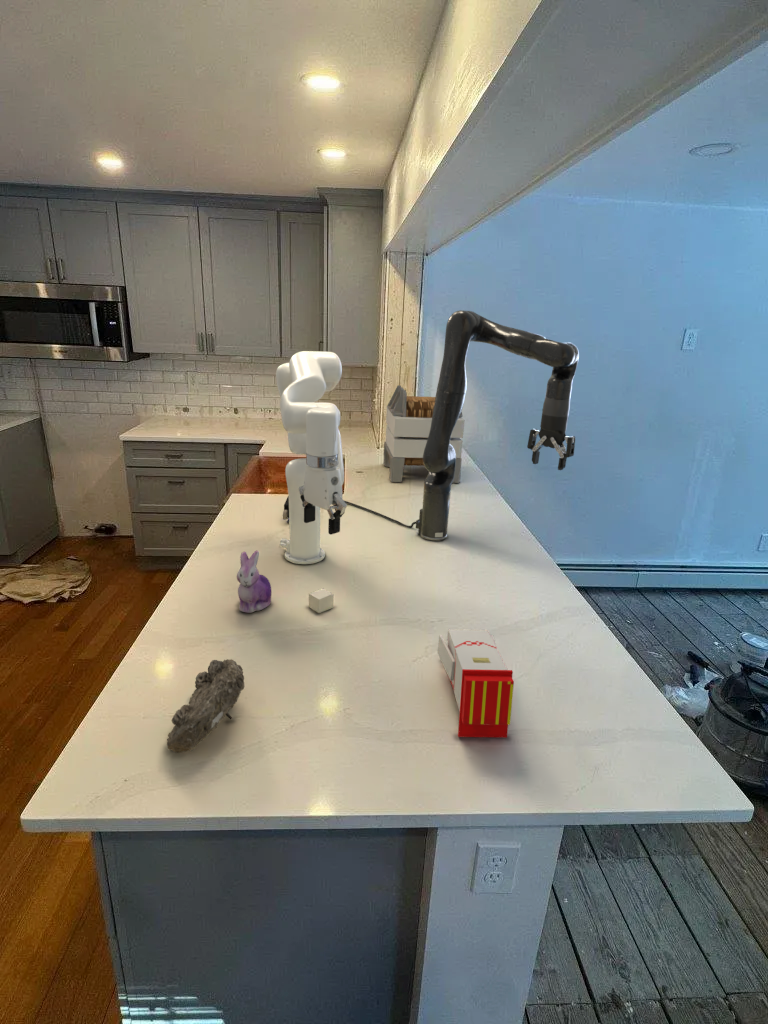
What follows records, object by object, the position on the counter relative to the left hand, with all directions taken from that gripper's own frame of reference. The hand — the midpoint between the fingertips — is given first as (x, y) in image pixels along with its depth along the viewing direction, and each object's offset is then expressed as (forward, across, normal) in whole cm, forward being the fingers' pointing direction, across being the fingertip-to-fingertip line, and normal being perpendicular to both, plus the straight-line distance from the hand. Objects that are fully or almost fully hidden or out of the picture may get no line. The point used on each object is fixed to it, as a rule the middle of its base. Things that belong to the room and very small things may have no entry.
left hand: (321, 527), depth 141 cm
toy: (+23, -48, -2) cm, 53 cm away
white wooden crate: (+23, +72, -118) cm, 139 cm away
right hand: (-9, -21, -71) cm, 74 cm away
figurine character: (+23, +58, -33) cm, 70 cm away
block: (+23, 0, 0) cm, 23 cm away
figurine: (+23, +12, +12) cm, 29 cm away
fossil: (+23, -19, +42) cm, 51 cm away
